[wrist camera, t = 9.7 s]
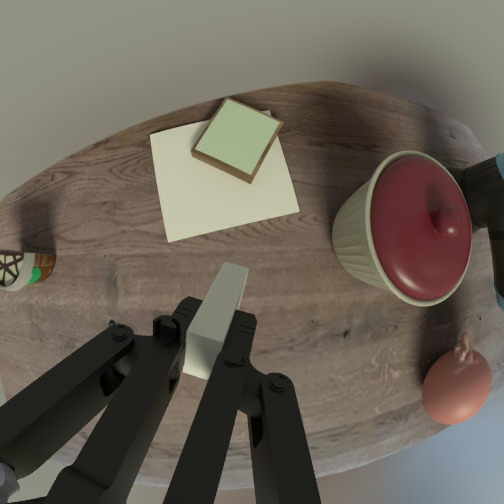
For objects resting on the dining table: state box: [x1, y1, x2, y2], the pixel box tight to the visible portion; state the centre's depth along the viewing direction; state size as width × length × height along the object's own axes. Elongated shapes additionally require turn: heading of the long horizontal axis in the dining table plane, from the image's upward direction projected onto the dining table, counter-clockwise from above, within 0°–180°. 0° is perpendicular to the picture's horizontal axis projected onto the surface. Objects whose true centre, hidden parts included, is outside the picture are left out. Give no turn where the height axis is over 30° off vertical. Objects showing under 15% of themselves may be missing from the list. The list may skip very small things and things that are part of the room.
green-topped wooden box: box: [191, 97, 284, 185], centre depth 38 cm, size 3×10×11 cm
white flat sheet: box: [150, 110, 300, 242], centre depth 40 cm, size 20×18×1 cm
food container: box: [0, 250, 56, 291], centre depth 31 cm, size 12×6×10 cm, turn 86°
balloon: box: [422, 332, 491, 424], centre depth 35 cm, size 15×20×15 cm
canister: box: [332, 150, 472, 306], centre depth 31 cm, size 18×18×21 cm
